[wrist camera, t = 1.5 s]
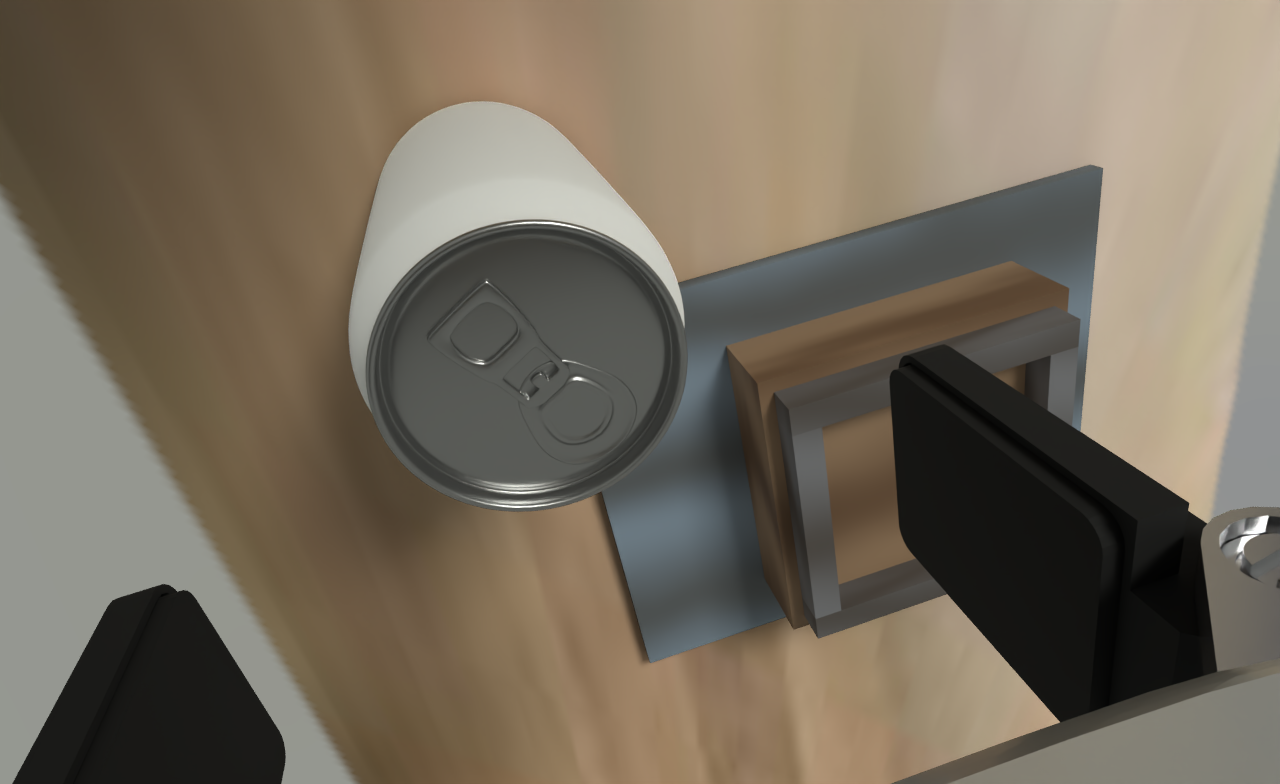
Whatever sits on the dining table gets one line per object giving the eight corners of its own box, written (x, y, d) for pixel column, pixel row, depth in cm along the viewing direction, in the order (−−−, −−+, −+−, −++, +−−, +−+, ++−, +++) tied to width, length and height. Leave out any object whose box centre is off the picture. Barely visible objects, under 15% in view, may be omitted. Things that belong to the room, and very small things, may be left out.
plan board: (552, 318, 26) (576, 381, 22) (1090, 164, 29) (1204, 195, 24) (646, 652, 34) (677, 745, 30) (1063, 511, 36) (1145, 579, 32)
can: (491, 348, 26) (535, 585, 16) (328, 210, 23) (250, 393, 13) (633, 210, 25) (778, 367, 15) (482, 47, 22) (534, 102, 12)
